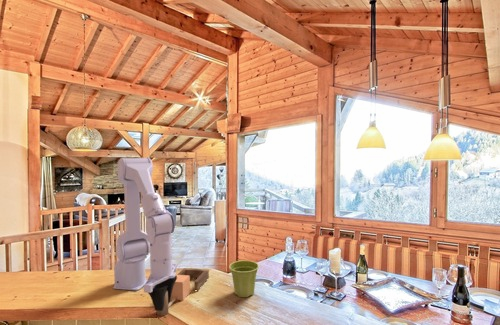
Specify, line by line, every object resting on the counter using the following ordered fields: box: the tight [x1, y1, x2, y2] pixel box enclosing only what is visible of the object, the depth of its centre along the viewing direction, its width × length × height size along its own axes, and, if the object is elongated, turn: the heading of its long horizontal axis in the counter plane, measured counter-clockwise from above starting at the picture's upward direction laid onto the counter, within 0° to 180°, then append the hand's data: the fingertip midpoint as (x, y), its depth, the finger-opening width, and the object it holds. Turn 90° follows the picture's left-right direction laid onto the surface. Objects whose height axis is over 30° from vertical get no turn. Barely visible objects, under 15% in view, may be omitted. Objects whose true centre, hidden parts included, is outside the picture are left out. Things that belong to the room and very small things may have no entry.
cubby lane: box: [176, 267, 210, 291], centre depth 96 cm, size 9×10×3 cm
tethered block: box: [156, 274, 191, 317], centre depth 83 cm, size 5×14×6 cm, turn 168°
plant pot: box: [229, 259, 260, 298], centre depth 88 cm, size 9×9×9 cm
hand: (162, 306), depth 77 cm, fingers open, 3 cm apart
